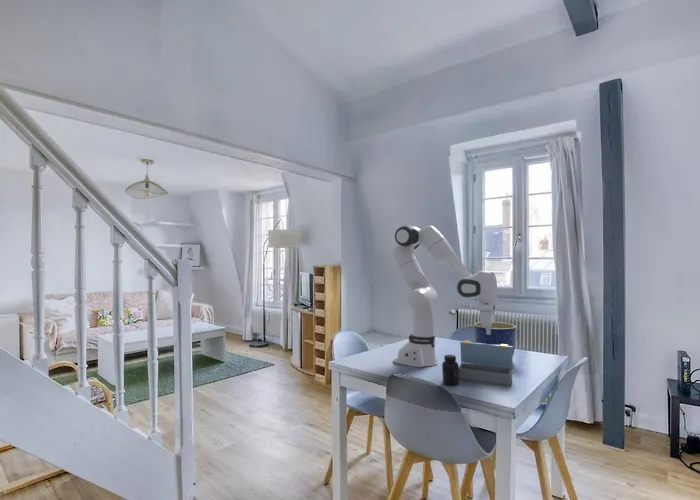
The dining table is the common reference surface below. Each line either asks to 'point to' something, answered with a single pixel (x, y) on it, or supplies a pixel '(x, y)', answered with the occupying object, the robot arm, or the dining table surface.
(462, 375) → the grey rectangular open box
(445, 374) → the supplement bottle
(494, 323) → the planter
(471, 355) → the cover
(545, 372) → the dining table surface
